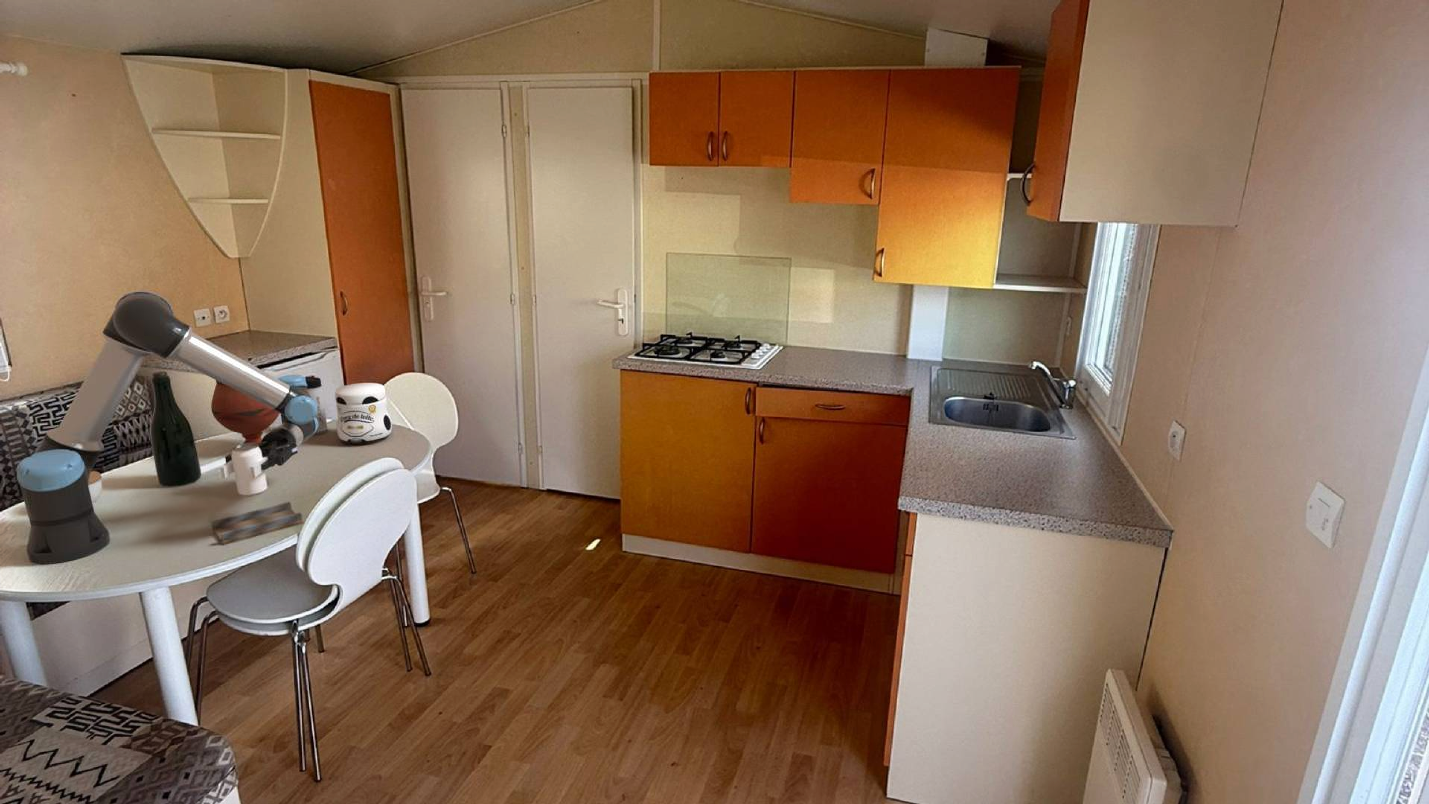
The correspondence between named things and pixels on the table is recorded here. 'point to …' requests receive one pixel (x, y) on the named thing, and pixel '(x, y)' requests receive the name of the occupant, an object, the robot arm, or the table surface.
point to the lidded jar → (95, 485)
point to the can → (247, 469)
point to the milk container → (362, 413)
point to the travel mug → (317, 402)
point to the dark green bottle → (172, 437)
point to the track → (256, 523)
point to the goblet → (241, 413)
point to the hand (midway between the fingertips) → (237, 472)
